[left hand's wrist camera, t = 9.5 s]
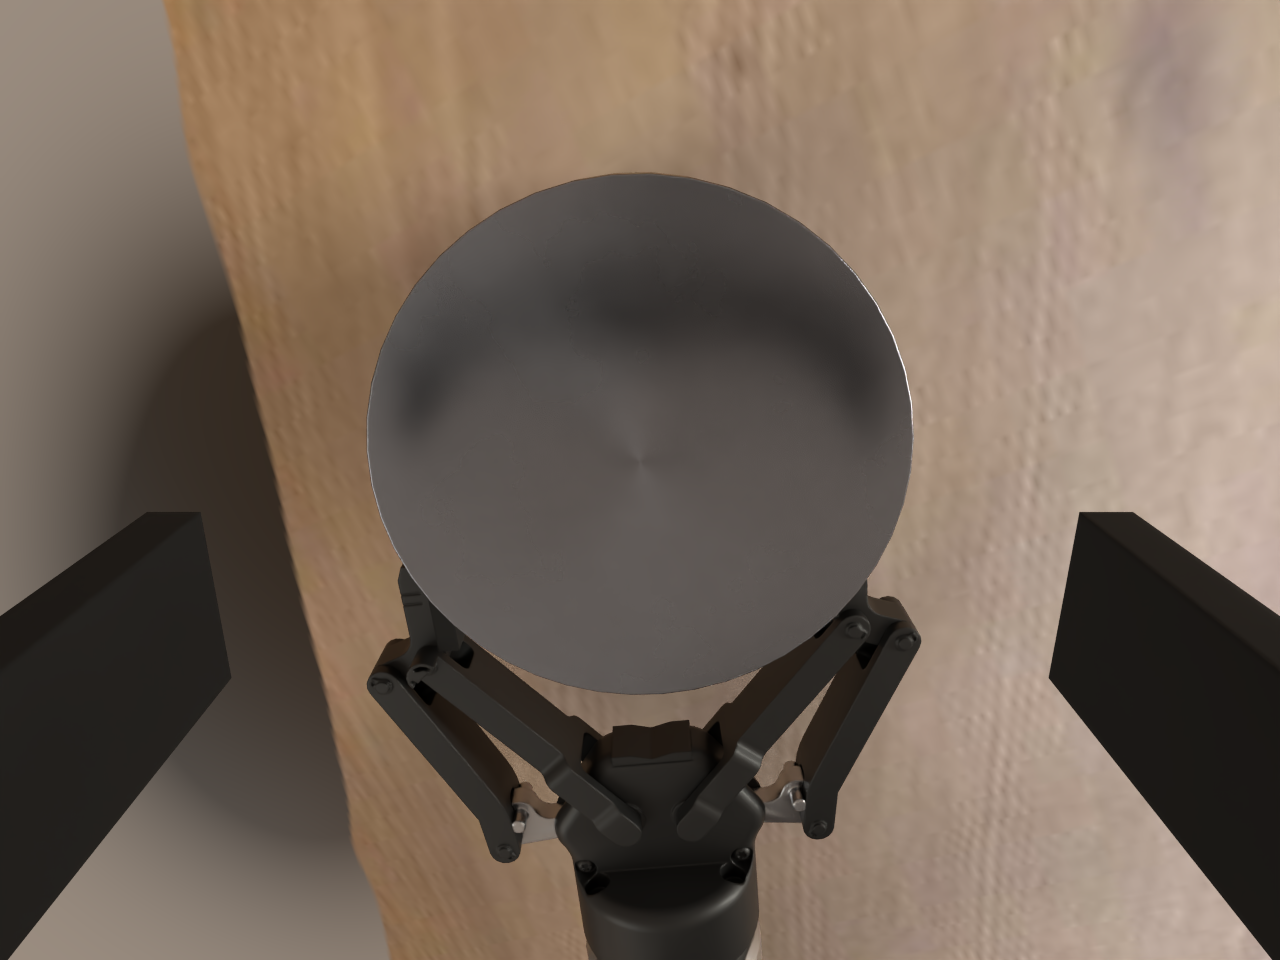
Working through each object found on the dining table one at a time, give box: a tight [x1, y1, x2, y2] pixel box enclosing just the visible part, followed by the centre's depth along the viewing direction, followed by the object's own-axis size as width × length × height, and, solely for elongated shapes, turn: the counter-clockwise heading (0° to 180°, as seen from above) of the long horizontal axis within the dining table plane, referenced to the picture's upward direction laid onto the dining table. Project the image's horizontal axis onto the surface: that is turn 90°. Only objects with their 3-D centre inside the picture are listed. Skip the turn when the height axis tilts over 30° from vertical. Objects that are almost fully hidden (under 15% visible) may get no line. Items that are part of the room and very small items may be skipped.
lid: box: [367, 172, 914, 695], centre depth 19 cm, size 12×12×2 cm
